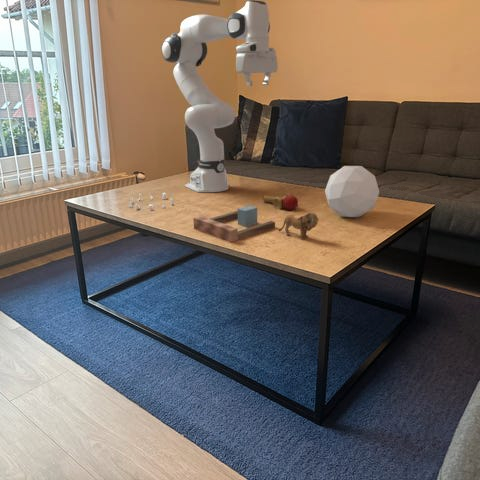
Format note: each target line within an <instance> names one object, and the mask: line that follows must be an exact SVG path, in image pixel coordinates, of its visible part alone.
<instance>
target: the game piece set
mask: <svg viewBox="0 0 480 480" xmlns="http://www.w3.org/2000/svg"><path fill="white" fill-rule="evenodd" d="M138 195H139V198H137V201H138V202H142V201H141V200H143V198H142V197H141V196H142V194H141V193H139V194H138ZM149 196H150V200H154V197H153V195H151V193H150V192H149ZM166 197H167V193H166V192H162V197H161V198H162V199H163V200H166ZM129 200H130V202H129V204H128V208H130V209H132V208H133V207H134V206H133V204H134V198H132V197H130V198H129ZM139 200H140V201H139ZM143 201H144V200H143ZM169 202H170V205H172V204H173V205H174V202H175V201H174V199H173V198H172V197H171V198H170V199H169ZM153 206H154V205H153V204H152V203H149V204H148V209H149V211H153V210H154V209H153ZM161 207H162V209H166V205H165V204H163V205H162V206H161ZM134 208H135V209H136V210H137V211H138V210H139V209H141V205H140V206H139V205H138V204H135V207H134Z"/></svg>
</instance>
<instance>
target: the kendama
mask: <svg viewBox="0 0 480 480" xmlns="http://www.w3.org/2000/svg"><path fill="white" fill-rule="evenodd" d="M262 201H263V202H264V203H270V204H273V206H274V208H275V209H277V210H280V209H282V208H283V207H284V208H285V209H286V210H289V211H294V210H295V209H297V207H298V205H299V200H298V198H297V196H295V195H293V194H290V193H285V194H284V195H283V197H279V196H277V197H276V196H269V195H264V196H263V198H262Z"/></svg>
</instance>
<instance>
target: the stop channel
mask: <svg viewBox="0 0 480 480" xmlns="http://www.w3.org/2000/svg"><path fill="white" fill-rule="evenodd" d="M236 219H238V210H235V211H232V212H229V213H228V212H227V213H225V214H221V215H218V216H214V217H210V218H207V217H206V216H201V215H198V216H194V217H193V229H194V230H197V231H200V232H203V233H206V234H208V235H211V236H214V237H216V238H219V239H222V240H225V241H227V242H229V243H232V242H236V241H239V240H242V239H244V238H247V237H250V236H253V235H254V236H255V235H256V234H260V233H262V232H263V233H264V232H266V231H268V230H271V229H274V228H276V221H272V220H269V221H266V222H263V223H260V224H257V225H256V224H255V225H254V226H253V225H252V226H249V227H247V228H244V229H241V230H239V231H238V227H235V226H231V225H228V224H225V222H228V221H231V220H236Z"/></svg>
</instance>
